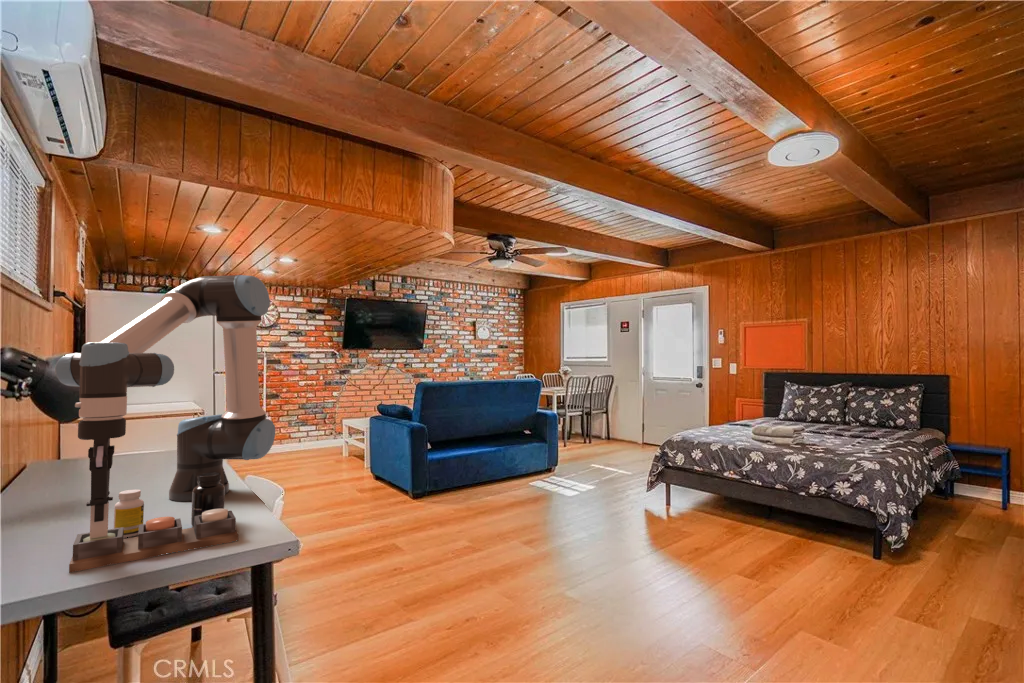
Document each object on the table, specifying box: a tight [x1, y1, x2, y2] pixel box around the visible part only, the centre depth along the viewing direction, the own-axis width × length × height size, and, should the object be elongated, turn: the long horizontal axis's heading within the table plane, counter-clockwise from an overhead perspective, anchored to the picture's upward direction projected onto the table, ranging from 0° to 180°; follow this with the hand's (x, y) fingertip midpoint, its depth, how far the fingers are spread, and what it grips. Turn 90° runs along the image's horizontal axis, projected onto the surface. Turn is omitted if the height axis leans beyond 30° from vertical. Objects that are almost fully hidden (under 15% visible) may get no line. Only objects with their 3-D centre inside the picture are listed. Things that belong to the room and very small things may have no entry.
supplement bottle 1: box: [113, 489, 145, 539], centre depth 115 cm, size 5×5×10 cm
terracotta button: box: [145, 516, 176, 532], centre depth 107 cm, size 5×5×2 cm
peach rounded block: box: [202, 508, 229, 523], centre depth 112 cm, size 5×5×2 cm
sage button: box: [83, 533, 115, 542], centre depth 101 cm, size 5×5×2 cm
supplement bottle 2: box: [190, 472, 226, 528], centre depth 122 cm, size 7×7×12 cm
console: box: [68, 510, 239, 573], centre depth 107 cm, size 28×11×4 cm, turn 126°
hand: (98, 536), depth 101 cm, fingers closed
